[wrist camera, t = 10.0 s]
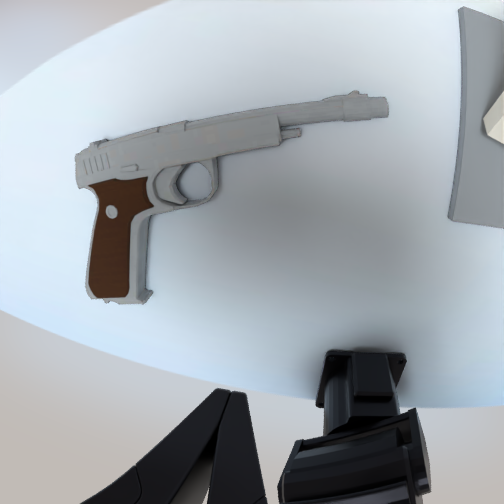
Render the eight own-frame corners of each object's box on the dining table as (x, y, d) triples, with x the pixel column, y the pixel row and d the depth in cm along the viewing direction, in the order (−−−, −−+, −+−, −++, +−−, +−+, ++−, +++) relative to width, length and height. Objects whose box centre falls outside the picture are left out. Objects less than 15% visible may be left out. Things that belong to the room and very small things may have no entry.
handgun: (396, 289, 19) (389, 88, 14) (88, 309, 23) (37, 162, 19) (388, 270, 21) (378, 90, 16) (102, 292, 26) (58, 155, 21)
